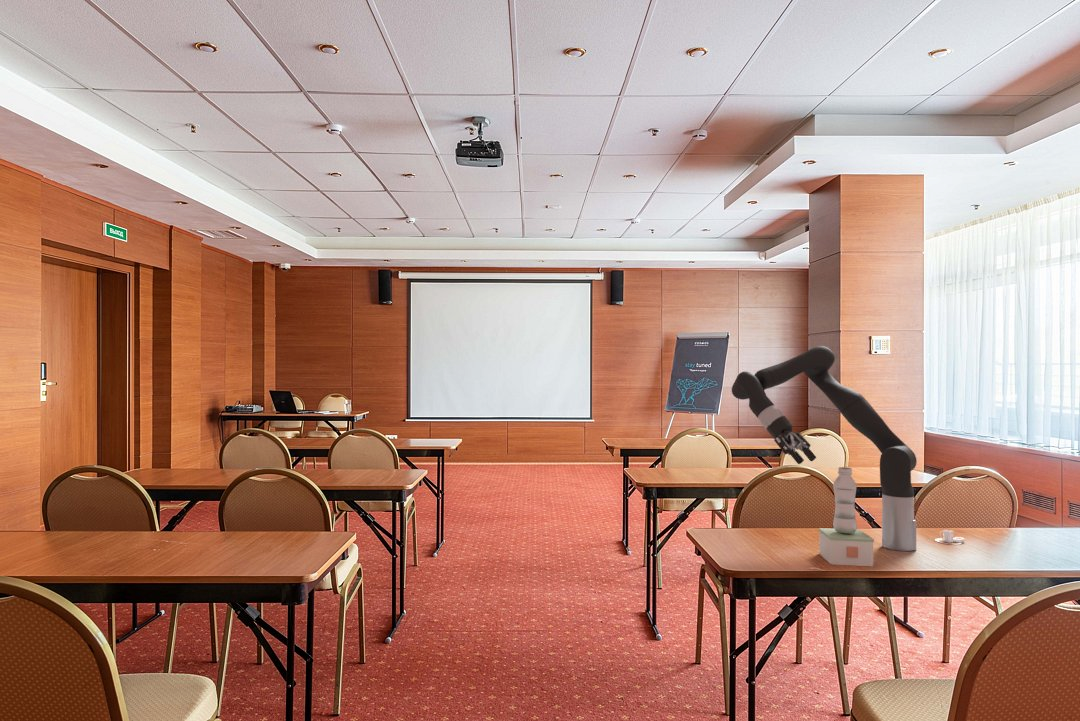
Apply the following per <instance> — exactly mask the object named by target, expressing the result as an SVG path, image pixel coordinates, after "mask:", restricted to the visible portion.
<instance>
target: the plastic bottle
mask: <svg viewBox="0 0 1080 721" xmlns="http://www.w3.org/2000/svg"><path fill="white" fill-rule="evenodd" d="M837 469H838V472H837V474H838V476H837V477H836V478H835V479H834V481H833V483H832V485H833V486H832V487H833V493H834V494H833V495H834V502H835V503H834V504H835V507H834V508H835V509H834V517H833V522H832V523H833V524H832V525H833V529H835V531H837V532H840V533H843V534H852V533H855V532H856V530H858V522H857V518H856V517H857V516H856V508H855V505H856V504H855V503H856V495H857V494H856V493H857V486H858V485H857V483H856V482H855V481H856V480H854V478H853V477H852V475H853V472H852V471H853V469H852V468H851V467H845V466H841V467H838V468H837Z"/></svg>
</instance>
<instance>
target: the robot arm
mask: <svg viewBox="0 0 1080 721" xmlns="http://www.w3.org/2000/svg"><path fill="white" fill-rule="evenodd" d="M835 360H836V357H835V354H834V351H832V350H831V349H830V348H829V347H827V346H826V345H825V346H824V345H816V346H814V347H812V348H810V349H808V350H805V351H804V352H803V353H800V354H797V356H794V357H792V358H790V359H788V360H785V361H783V362H779V363H777V364H775V365H771V366H768V367H764V368H762V369H760V370H758V371H756V372H755V373H754V374H753V373H752V372H749V371H742V372H740V373H738V375H737V376H736V377H735V378H736V379H735V380H734V382H733V384H732V386H731V393H732V395H733V397H734V398H736V399H738V400H748V407H749V410H751V412H752V413H753V414H754V416H756V417H757V419H758V420H759V423H760V424H761V425H762V427H763V428H764V429H765V430H766V431H767V433H768V434H769V435H770V436H771V437H772V438H773V439H774V440H773V441H774V442H775V443H776V444H777V446H778V447H779V448H780V450H781V451H782V452H783V454H784V455H789V456H791V458H792V459H793V460H794V461H795V462H796V463H797V465H801V464H802V463H803V462H804V461H805V459H804V458H803V457H802V455H801V454H800V453H799V451H800V452H802V453H803V454H804V455H805V456H806V458H807V459H808V461H810V462H814V461H815V459H817V456H816V455H815V454H814V453H813V451H812V450H811V449H810V448H811V446H812V445H811V444H810V443H809V441H807V439H806V438H805V437H804V436H803V435H802V434H801V433H800V432H799V431H798V432H796V433H795V432H793V428H794V425H793V423H791V421H790V419H788V418H787V416H786V415H785V414H784V413H783V412H782V411H781V410H780V409H779V408H778V407H777V406H776V405H775V404H774V403H773V401H772V400H771V399H770V398H769V397H768V395H767V394H766V392H765V390H767V389H771V388H774V387H777V386H779V385H782V384H784V383H787V382H788V381H790V380H791V379H793V378H795V377H797V376H798V375H800V374H802V373H804V375H805V376H806V377H807V378H808V379H809V380H810V381H811V382H812V383H814V385H815V386H817V388H818V389H820V391H821V392H822V393H823V394H824V395H825V396H826V398H828V400H829V401H830V402H831V403H832V404H833V405H834V406H835V407H836V408H837V410H838V411H839V413H840V414H841V415H842V416H843V418H844V419H845V420H846V421H847V422H848V423H849V424H850V425H851V427H853V428H854V429H855V430H856V431H858V432H859V433H860V434H861V435H863V436H864V437H865V438H867V439H869V440H870V441H871V442H872V443H873V445H875V447H876V448H877V449H878V450H879V451H880V453H881V455H880V458H879V482H880V488H881V489H882V490H881V494H882V496H881V499H882V500H881V510H882V511H881V546H882V547H883V548H885V549H888V550H894V551H901V552H903V551H904V552H912V551H917V520H916V519H915V500H914V499H915V490H914V489H915V488H914V487H913V484H912V476H911V475H912V472H913V470H914V469H915V468H916V466H917V461H918V460H917V456H916V454H915V452H914V451H913V450H912V449H911V447H909V446H908V444H906V443H905V442H904V441H903V440H901V438H899V437H898V435H896V434H895V433H894V432H893V431H892V429H891V428H890V427H889V425H888V424H887V423H886V422H885V421H884V419H883V418H882V417H881V416H880V415H879V413H878V412H877V411H876V410H875V409H874V407H873V406H872V405H871V403H870V402H869V401H868V400H867V399H866V398H865V397H864V396H863V395H862V394H861V393H860V392H858V391H857V390H855V389H852V388H850V387H847V386H845V385H843V384H841V382H840V383H839V382H838V381H837V380H836V378H835V377H833V375H832V374H831V373H830V372H829V370H830V369H831V367H832V366H833V365H834V362H835ZM797 450H799V451H797Z"/></svg>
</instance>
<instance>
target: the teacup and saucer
mask: <svg viewBox="0 0 1080 721" xmlns="http://www.w3.org/2000/svg"><path fill="white" fill-rule="evenodd" d="M954 532H955V531H954V530H951V529H943V530H942V531H939V533H938V534H939V537H940V538H935V539H934V541H935V542H937V543H941V544H943V545H944V544H945V545H949V544H951V545H956V546H957V545H962V543H964V542H965V540H966V539H965V538H964V537H961V536H955V537H954ZM941 533H942V535H941ZM942 536H943V537H942ZM943 541H944V542H943ZM953 542H954V543H953Z"/></svg>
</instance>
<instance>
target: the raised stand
mask: <svg viewBox="0 0 1080 721" xmlns="http://www.w3.org/2000/svg"><path fill="white" fill-rule="evenodd" d="M818 531H819V532H818V533H819V534H818V535H819V541H818V542H819V544H818V546H819V549H818V550H819V552H818V554H819V555H820V556H821V557H822V558H823V559H824V560H825V561H826V562H828V564H830V565H834V566H836V565H837V566H856V567H857V566H858V567H861V566H862V567H874V543H875V539H874V538H872V536H869V535H868V534H866V533H865V532H864V531H862V530H861V529H857V530H856V532H855V533H852V534H843V533H840V532H837V531H835V529H834V528H825V527H824V528H823V527H819V528H818Z"/></svg>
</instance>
